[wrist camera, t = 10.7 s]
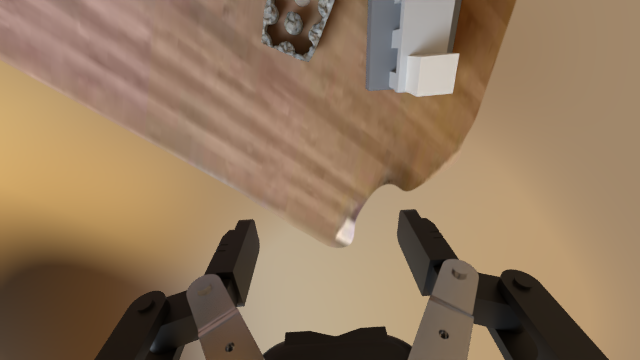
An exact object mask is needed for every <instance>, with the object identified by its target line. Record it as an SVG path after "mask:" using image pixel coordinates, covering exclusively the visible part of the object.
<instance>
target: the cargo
mask: <svg viewBox="0 0 640 360" xmlns="http://www.w3.org/2000/svg"><path fill="white" fill-rule="evenodd" d="M458 59H459V53H434V54H424V55H413V56H408V61H407V73H406V86H405V91H406V92H408V93H410V94H412V95H414V96H417V97H419V96H429V95H440V94H450V93H453V88H454V82H455V77H456V71H457V65H458Z"/></svg>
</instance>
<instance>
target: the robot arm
mask: <svg viewBox="0 0 640 360" xmlns="http://www.w3.org/2000/svg"><path fill="white" fill-rule="evenodd" d="M397 237H398V242H399V245H400V247H401V249H402V251H403V254H404V256H405V258H406V261H407V263H408V265H409V267H410V269H411V272H412V274H413V276H414V279H415V281H416V283H417V285H418V288H419V290H420V292H421V295H422V296H430V298H429V300H428V303H427V306H426V309H425V312H424V315H423V317H422V320H421V323H420V326H419V329H418V332H417V334H416V337H415V340H414V343H413V346H410V345H409V344H408V343H406V342H404V341H402V340H400V339H398V338H395V337H393V336H389V335H387V332H386V329H385V327H369V328H359V329H356V330H353V331H350V332H348V333H345V334H342V335H340V336H331V335H326V334H321V333H317V332H312V331H304V332H286V334H285V341H284V342H281V343H279V344H277V345H275V346H273V347H272V348H271V349H269V350H268V351H267V352H265V353H264V354H263V355H262V353H261V351H260V349H259V348H258V346H257V344H256V342H255V340H254V338H253V336H252V335H251V333H250V331H249V329H248V327H247V325H246V323H245V321H244V320H243V318H242V316H241V314H240V312H239V310H238V309H237V308H236V307H240V306H245V302H246V298H247V295H248V290H249V287H250V283H251V280H252V276H253V272H254V268H255V264H256V261H257V257H258V254H259V238H258V234H257V230H256V226H255V222H254V220H253V219H252V220H251V219H250V220H239V221H238V223H237V226H236V228H235V230H229V231H228V232H227V233H226V234H225V235H224V236H223V237H222V239H221V241H220V243H219V246H218V247H217V250H216V252H215V254H214V256H213V258H212V260H211V262H210V264H209V266H208V268H207V270H206V272H205V274H204V276H201V277H199V278H198V279H196V280H195V281H194V282H193V283H192V284H191V285H190V286H189V288H188V290H186V291H184V292H181V293H178V294H175V295H172V296H169V297H166V296H165V294H164V293H163V292H161V291H152V292H149V293H146V294H144V295H142V296H140V297H139V298H138V299H136V300H135V301H134V302H133V303H132V304H131V305H130V306H129V308H128V309H127V311H126V312H125V314H124V315H123V317H122V318H121V320H120V321H119V323H118V324H117V326H116V327H115V329H114V330H113V332H112V334H111V335H110V337H109V338H108V340H107V341H106V343H105V344H104V346H103V347H102V349H101V350H100V352H99V353H98V355H97V356H96V358H95V360H179V359H180V356H181V353H182V351H183V348H184V346H185V344H188V343H190V342H193V341H195V340H198V339H199V340H200V343H201V346H202V349H203V352H204V355H205V358H206V360H467V356H468V351H469V345H470V339H471V333H472V327H473V323H474V324H478V325H482V326H486V327H487V328H488V330H489V332H490V334H491V336H492V337H493V339H494V341H495V343H496V344H497V346H498V348H499V350H500V352H501V353H502V355H503V357H504V359H505V360H609V359H608V358H607V357H606V356H605V355H604V354H603V353H602V352H601V350H600V349H599V348H598V347H597V346H596V345H595V344H594V343H593V341H592V340H591V339H590V338H589V337H588V336H587V335H586V334H585V333H584V331H583V330H582V329H581V328H580V327H579V326H578V325H577V324H576V323H575V321H574V320H573V319H572V318H571V317H570V316H569V315H568V313H567V312H566V311H565V310H564V309H563V308H562V307H561V306H560V305H559V303H558V302H557V301H556V300H555V299H554V298H553V297H552V296H551V294H550V293H549V292H548V291H547V290H546V289H545V288H544V287H543V286H542V284H541V283H540V282H539V281H538V280H536V279H535V278H534V277H532V276H531V275H529V274H527V273H524V272H522V271H518V270H505V271H503V272H502V274H501V276H500V277H497V276H492V275H487V274H481V273H478V272H477V271H476V270H475V269H474V267H472V266H471V265H470V264H468V263H466V262H464V261H461V260H459V259H458V258H457V256H456V255H455V253H454V252H453V250H452V249H451V247H450V246H449V245H448V243H447V242H446V240H445V239H444V238H443V236H442V235H441V233H440V232H439V230H438V229H437V227H436V226H435V224H434V223H432V222H431V221H429V220H428V219H427V218H421V217H420V216H419V214H418V212H417V211H416V210H414V209H413V210H401V211H400V213H399V221H398V231H397Z"/></svg>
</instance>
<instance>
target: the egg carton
mask: <svg viewBox="0 0 640 360" xmlns="http://www.w3.org/2000/svg"><path fill="white" fill-rule="evenodd" d="M295 2H296V4H297V5H299V6H301V7H304V6H306V5H308V4H309V2H310V0H295ZM274 3H275V0H267V2H266V6H265V9H264V19H263V33H262V43H264V44H266V45H267V46H270V47H272V48H276V49H277V50H279V51H281V52H284V53H286V54H288V55H291V56H293V57H295V58H297V59H300V60H303V61H307V62H309V61H310V59H311V57H312V56H313V54H314V51H315V49H316V47H317V44H318V42H319V39H320V37H321V34H322V31H323V29H324V27H325V24H326V21H327V19H328V16H329V14H330V11H331V9H332V6H333V3H334V0H319V3H318V10H319V13H320V15H321V16H322V17H323V18H322V21H321V22H320V23H319V24H314V25H313V26H312V28H311V29H310V30H309V39H310V41H311V42H312V43H313V46H312V47H310V48H309V52H307V53H305V54H304V55H303V56H302V55H301V54H296V53H295V48H294V46H293V45H292V44H291V43H289V42H287V41H285V42H282V43H280V44H279V46H276V45H275V46H273V45H272V39H271V37H270V35H269V34H268V33H267V28H268V25H273V24H275V23H277V21H278V19H279V12H278V9H277V8H276V6H275V5H274ZM284 25H285V28H286V30H287V31H288V32H289V34H292V35H297V34H299V33H301V31H302V29H303V22H302V19H301V17H300V16H299V15H298V14H297V13H295V12H288V14H287V17H286V19H285V22H284Z"/></svg>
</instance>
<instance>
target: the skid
mask: <svg viewBox="0 0 640 360" xmlns="http://www.w3.org/2000/svg"><path fill="white" fill-rule="evenodd" d="M399 3H401V16H400V29H397V30H393V33H392V48H398V55H397V68H396V71H390V78H389V87H390V88H392V89H394V90H395V92H397V93H401V92H406V91H405V86H406V73H407V61H408V56H413V55H424V54H434V53H447V48H448V42H449V35H450V29H451V23H452V17H453V11H454V5H455V0H395V2H394V4H399Z"/></svg>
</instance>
